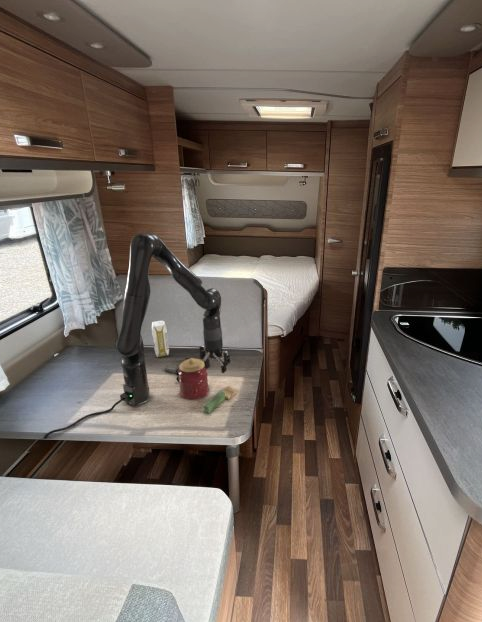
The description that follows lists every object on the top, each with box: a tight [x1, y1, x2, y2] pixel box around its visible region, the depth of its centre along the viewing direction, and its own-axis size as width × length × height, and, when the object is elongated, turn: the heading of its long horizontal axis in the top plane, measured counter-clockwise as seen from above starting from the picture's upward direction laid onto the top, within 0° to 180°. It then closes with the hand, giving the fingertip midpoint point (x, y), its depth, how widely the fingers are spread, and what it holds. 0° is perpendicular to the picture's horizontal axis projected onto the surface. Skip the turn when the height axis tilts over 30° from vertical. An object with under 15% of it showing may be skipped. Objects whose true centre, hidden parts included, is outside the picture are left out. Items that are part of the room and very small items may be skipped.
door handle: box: [164, 357, 204, 382], centre depth 174 cm, size 3×20×16 cm
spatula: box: [203, 386, 238, 415], centre depth 150 cm, size 19×6×3 cm, turn 154°
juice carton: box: [151, 320, 170, 358], centre depth 188 cm, size 8×9×19 cm
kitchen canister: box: [177, 357, 210, 400], centre depth 154 cm, size 13×13×18 cm
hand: (215, 370), depth 146 cm, fingers open, 8 cm apart
